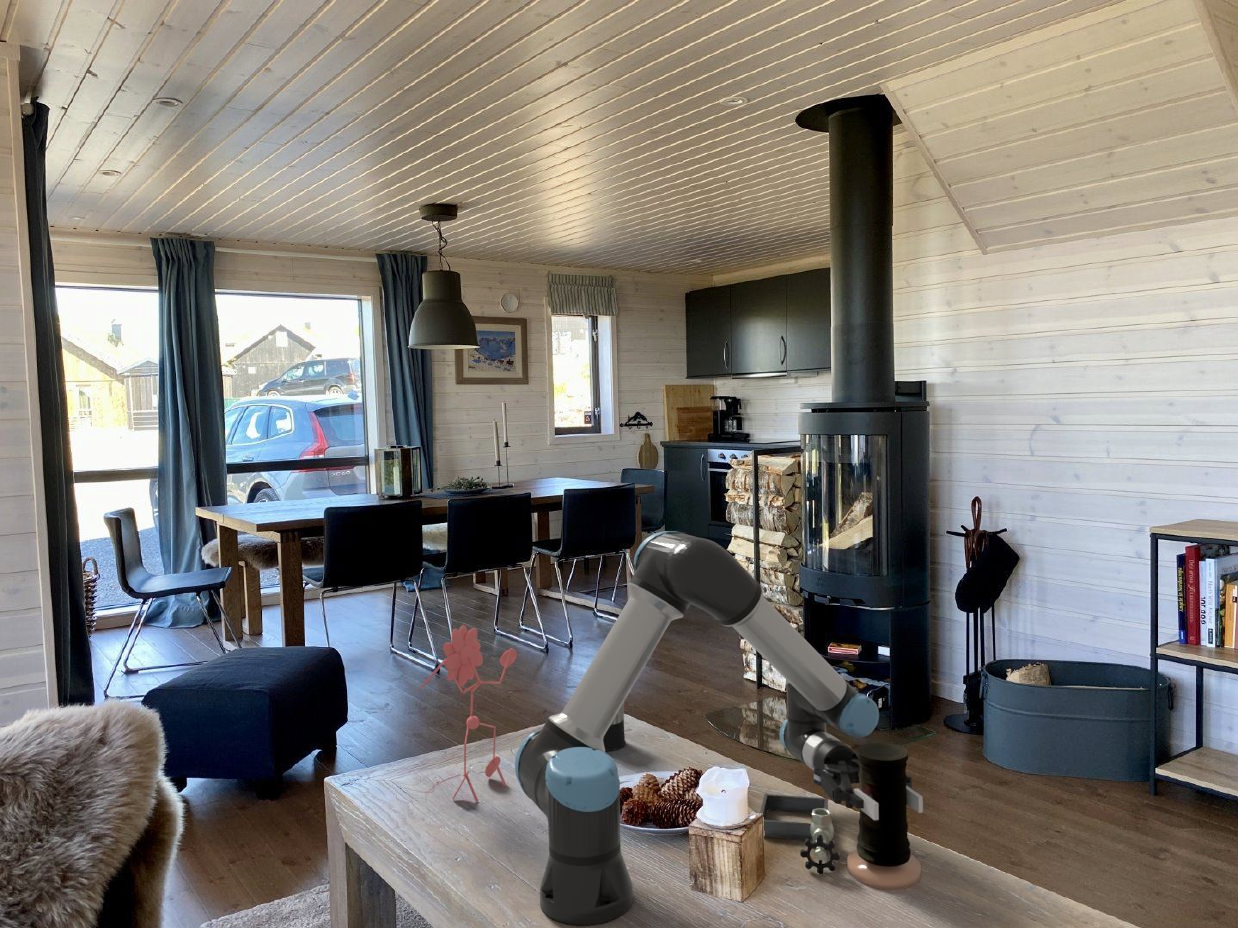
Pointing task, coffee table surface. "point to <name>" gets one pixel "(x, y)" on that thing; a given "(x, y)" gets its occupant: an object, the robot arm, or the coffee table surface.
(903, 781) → the container
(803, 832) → the collar
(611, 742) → the milk frother
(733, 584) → the robot arm
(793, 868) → the coffee table surface
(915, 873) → the peach soap bar
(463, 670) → the figurine
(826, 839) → the valve
